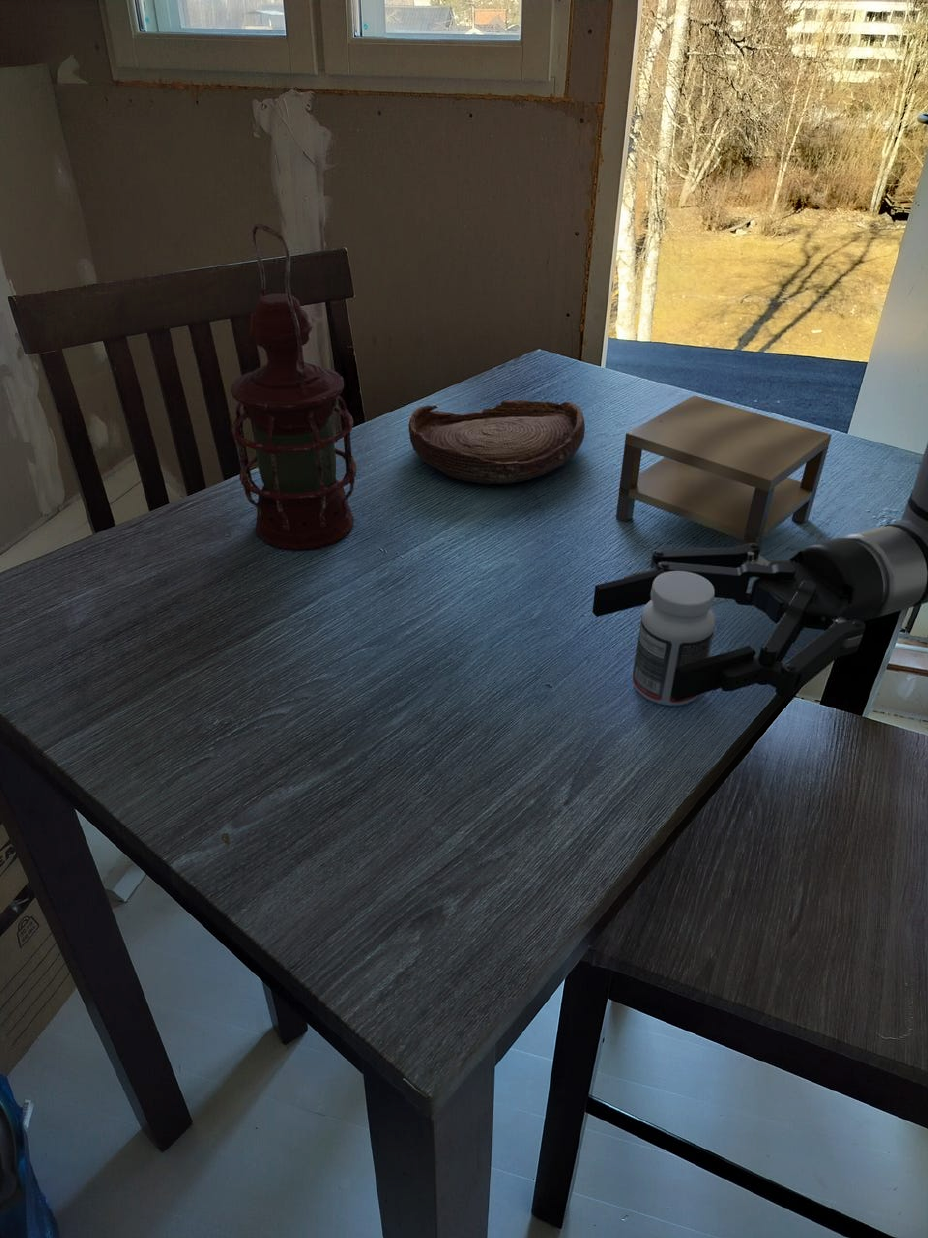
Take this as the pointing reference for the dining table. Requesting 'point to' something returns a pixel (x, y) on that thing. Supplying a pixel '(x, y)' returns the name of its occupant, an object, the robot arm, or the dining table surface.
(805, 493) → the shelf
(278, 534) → the lantern
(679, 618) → the pill bottle
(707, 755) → the dining table surface
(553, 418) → the basket
